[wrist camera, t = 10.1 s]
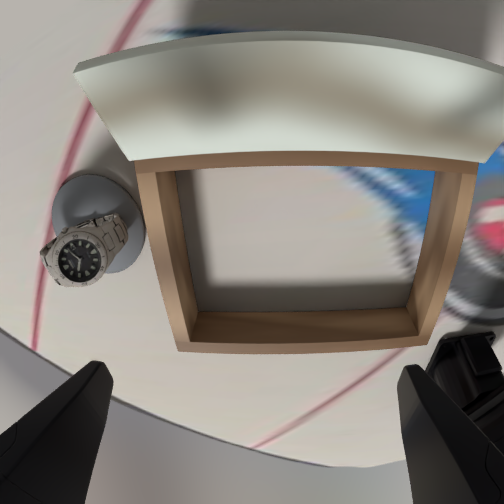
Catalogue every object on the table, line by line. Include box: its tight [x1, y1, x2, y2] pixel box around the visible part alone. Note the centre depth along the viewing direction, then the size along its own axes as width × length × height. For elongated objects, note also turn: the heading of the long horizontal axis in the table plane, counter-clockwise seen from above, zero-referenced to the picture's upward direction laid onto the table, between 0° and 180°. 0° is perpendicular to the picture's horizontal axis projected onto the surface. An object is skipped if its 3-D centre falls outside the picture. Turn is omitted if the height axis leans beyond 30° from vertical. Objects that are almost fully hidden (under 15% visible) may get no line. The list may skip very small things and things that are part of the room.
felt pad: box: [52, 174, 145, 273], centre depth 19 cm, size 7×7×1 cm
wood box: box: [73, 31, 504, 354], centre depth 15 cm, size 18×17×7 cm
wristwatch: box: [40, 212, 129, 287], centre depth 17 cm, size 4×6×5 cm, turn 106°
